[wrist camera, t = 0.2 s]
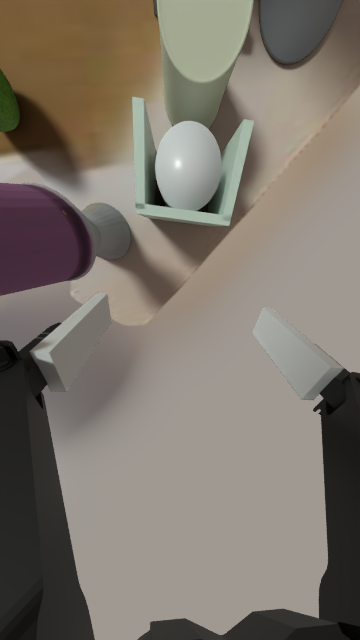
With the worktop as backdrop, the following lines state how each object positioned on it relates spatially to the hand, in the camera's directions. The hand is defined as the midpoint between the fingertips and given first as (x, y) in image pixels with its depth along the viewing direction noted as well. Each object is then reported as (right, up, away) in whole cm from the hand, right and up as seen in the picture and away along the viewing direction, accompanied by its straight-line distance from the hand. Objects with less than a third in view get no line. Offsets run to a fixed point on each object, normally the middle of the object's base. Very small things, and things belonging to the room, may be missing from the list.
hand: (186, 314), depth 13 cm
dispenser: (+1, +31, +13) cm, 34 cm away
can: (+1, +35, +11) cm, 37 cm away
